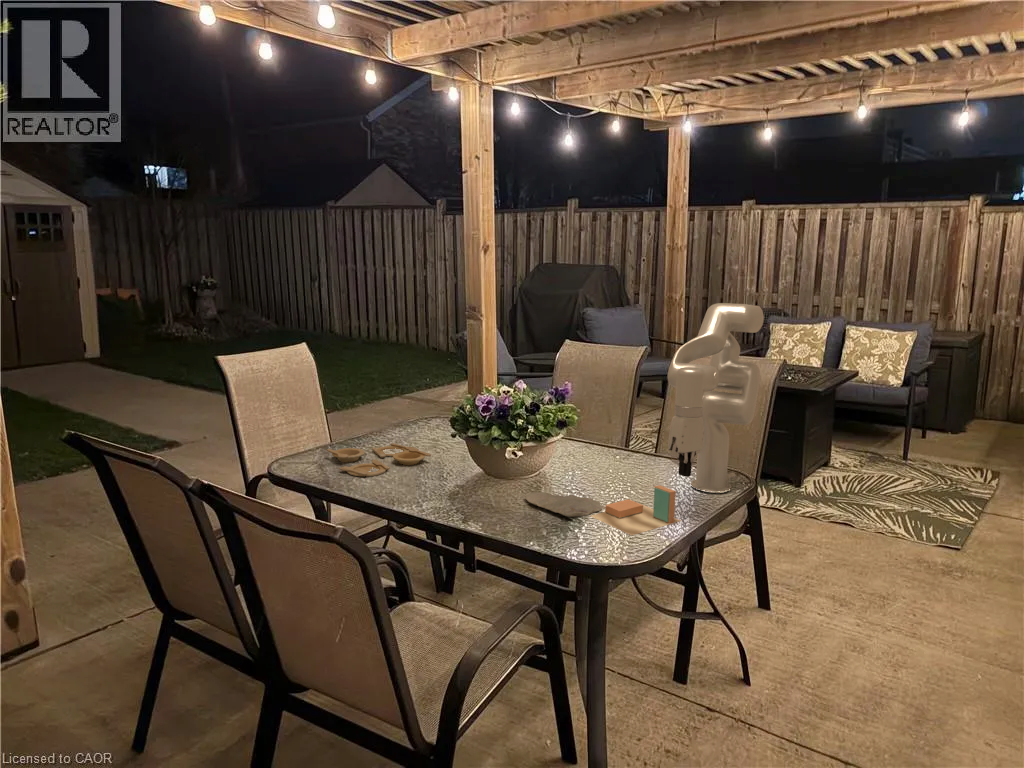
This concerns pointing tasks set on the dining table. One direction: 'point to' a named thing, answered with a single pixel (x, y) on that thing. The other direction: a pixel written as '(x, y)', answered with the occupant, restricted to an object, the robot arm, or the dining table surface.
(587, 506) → the stone tool
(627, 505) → the tile
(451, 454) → the dining table surface
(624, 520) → the board
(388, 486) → the dining table surface
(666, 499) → the tile
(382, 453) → the tableware set
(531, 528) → the dining table surface
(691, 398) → the robot arm
